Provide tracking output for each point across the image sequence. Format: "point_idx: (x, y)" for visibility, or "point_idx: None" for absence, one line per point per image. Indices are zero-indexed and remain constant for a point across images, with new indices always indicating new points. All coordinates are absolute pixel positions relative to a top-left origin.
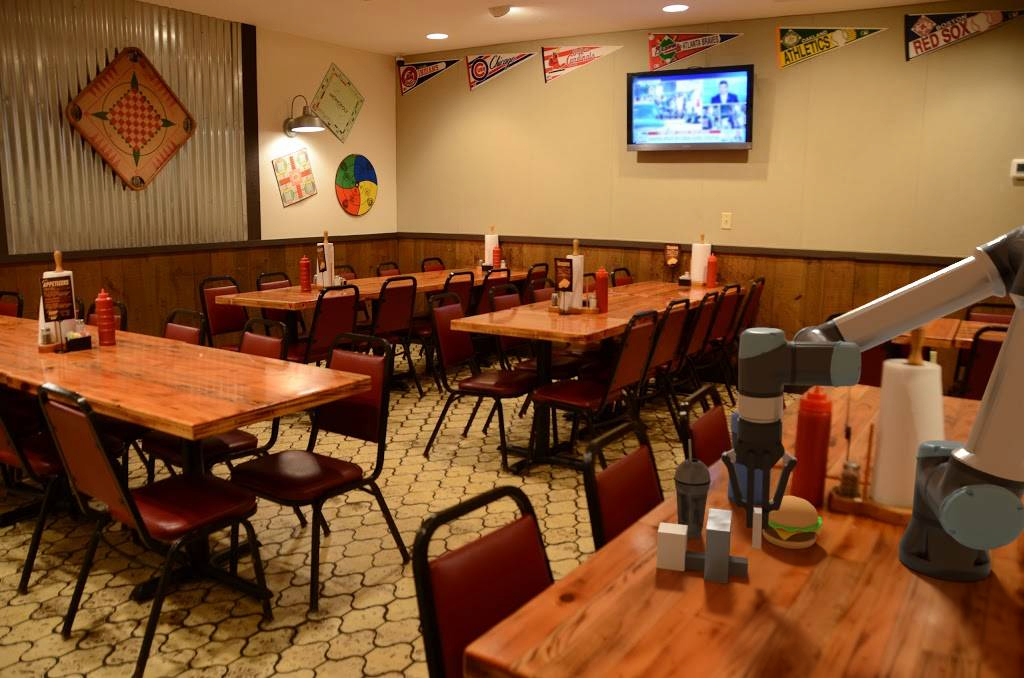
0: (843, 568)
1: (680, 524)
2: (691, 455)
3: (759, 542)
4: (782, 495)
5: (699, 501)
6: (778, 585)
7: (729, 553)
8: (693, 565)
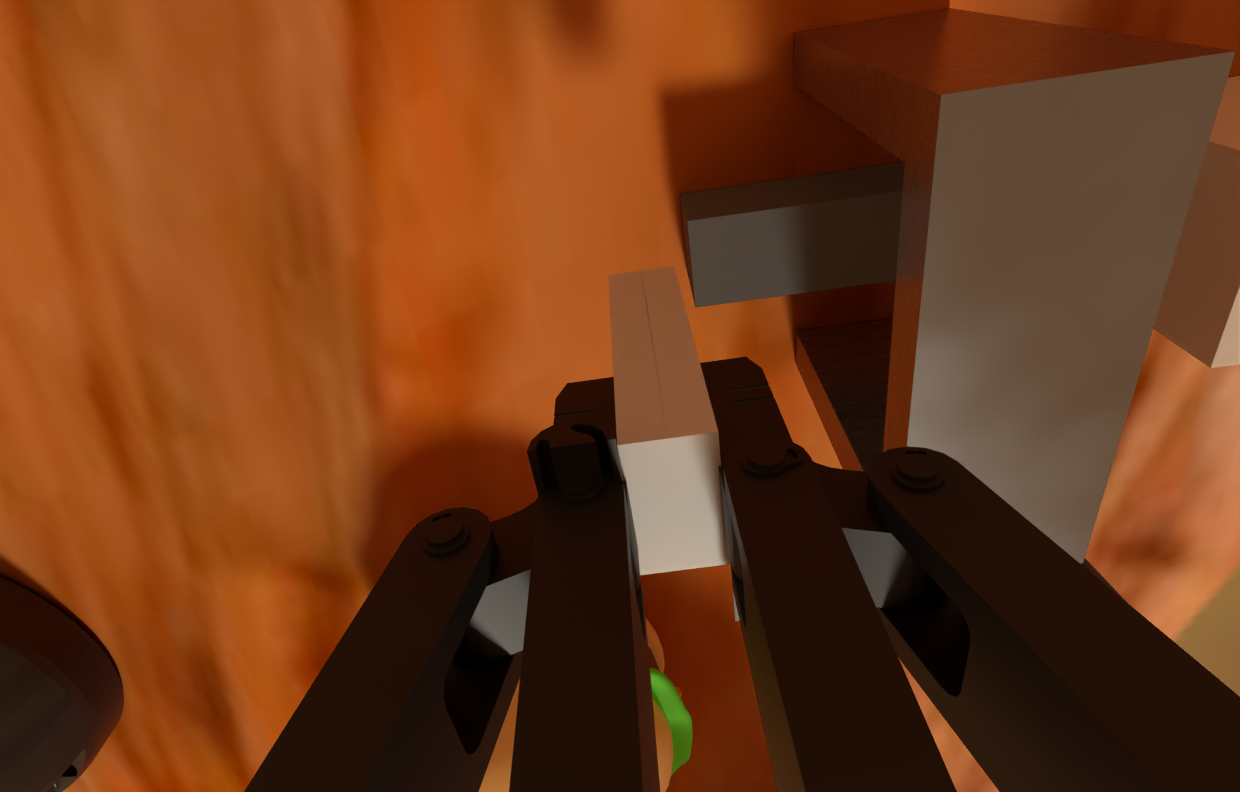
0: (255, 485)
1: (1087, 561)
2: None
3: (622, 293)
4: (316, 698)
5: None
6: (489, 159)
7: (808, 357)
8: None
